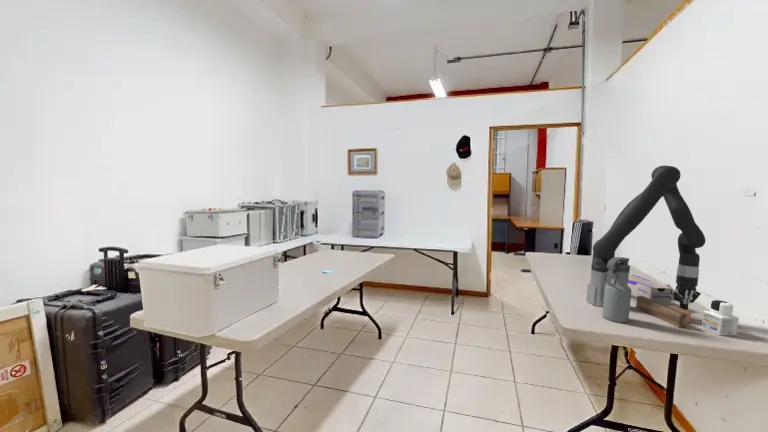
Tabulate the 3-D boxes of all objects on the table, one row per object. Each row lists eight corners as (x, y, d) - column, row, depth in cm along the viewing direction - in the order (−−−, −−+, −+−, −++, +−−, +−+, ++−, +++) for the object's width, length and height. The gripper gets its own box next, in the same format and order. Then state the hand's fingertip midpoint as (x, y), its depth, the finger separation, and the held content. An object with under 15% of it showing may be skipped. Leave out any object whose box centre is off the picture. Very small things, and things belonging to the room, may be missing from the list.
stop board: (678, 327, 147) (680, 314, 146) (635, 307, 171) (637, 295, 170) (685, 327, 147) (687, 314, 146) (641, 307, 171) (643, 296, 170)
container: (700, 327, 148) (704, 298, 147) (717, 327, 148) (721, 298, 147) (719, 335, 140) (724, 305, 139) (736, 335, 141) (741, 305, 140)
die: (670, 297, 192) (659, 281, 195) (681, 294, 184) (669, 278, 188) (657, 302, 191) (646, 286, 195) (668, 299, 183) (656, 283, 187)
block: (673, 322, 153) (674, 312, 153) (658, 315, 161) (659, 305, 161) (690, 322, 154) (691, 312, 153) (673, 316, 162) (675, 305, 161)
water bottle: (613, 323, 148) (620, 260, 146) (596, 315, 158) (602, 255, 155) (633, 323, 150) (640, 260, 147) (615, 314, 160) (621, 255, 157)
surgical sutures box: (614, 292, 195) (616, 274, 194) (632, 293, 196) (634, 275, 195) (648, 308, 170) (651, 287, 169) (669, 309, 171) (672, 288, 170)
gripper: (680, 276, 153) (676, 314, 155) (709, 277, 154) (704, 314, 155) (666, 272, 161) (662, 308, 162) (693, 272, 161) (689, 308, 163)
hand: (683, 311), depth 159 cm, fingers closed
